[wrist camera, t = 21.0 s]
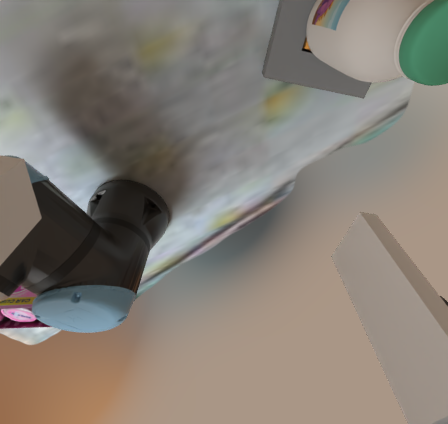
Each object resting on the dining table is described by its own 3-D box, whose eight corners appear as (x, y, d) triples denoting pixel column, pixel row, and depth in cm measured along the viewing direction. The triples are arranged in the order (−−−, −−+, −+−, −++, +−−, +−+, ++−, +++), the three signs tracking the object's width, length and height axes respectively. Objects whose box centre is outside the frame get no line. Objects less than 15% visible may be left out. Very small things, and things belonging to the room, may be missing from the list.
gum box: (90, 253, 60) (60, 306, 49) (103, 274, 65) (78, 327, 54) (-6, 258, 62) (-55, 311, 51) (14, 279, 67) (-27, 330, 56)
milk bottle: (371, 50, 32) (510, 94, 16) (307, 70, 33) (377, 126, 17) (376, -32, 27) (577, -85, 11) (301, -6, 29) (389, -21, 13)
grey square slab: (355, 92, 37) (363, 98, 35) (261, 72, 36) (264, 77, 34) (417, -40, 29) (433, -44, 27) (297, -72, 28) (303, -80, 25)
